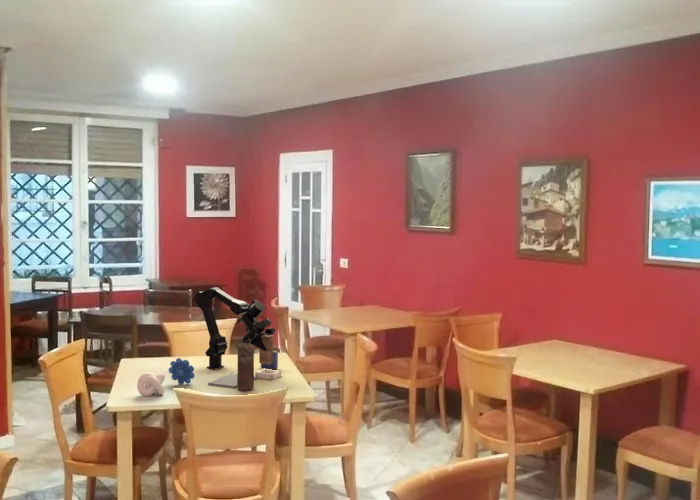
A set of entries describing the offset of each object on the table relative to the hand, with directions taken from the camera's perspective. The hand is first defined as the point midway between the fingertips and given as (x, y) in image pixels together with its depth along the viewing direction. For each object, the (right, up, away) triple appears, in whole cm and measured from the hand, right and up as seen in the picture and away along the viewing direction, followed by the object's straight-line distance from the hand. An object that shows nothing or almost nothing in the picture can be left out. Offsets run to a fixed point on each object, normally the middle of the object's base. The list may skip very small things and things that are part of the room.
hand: (268, 349), depth 329 cm
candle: (-8, -15, -21) cm, 27 cm away
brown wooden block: (-1, -7, +1) cm, 7 cm away
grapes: (-38, -14, -15) cm, 43 cm away
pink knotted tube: (-46, -15, -31) cm, 57 cm away
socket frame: (0, -13, +2) cm, 14 cm away
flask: (-2, -13, +19) cm, 23 cm away
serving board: (-15, -14, -8) cm, 22 cm away
